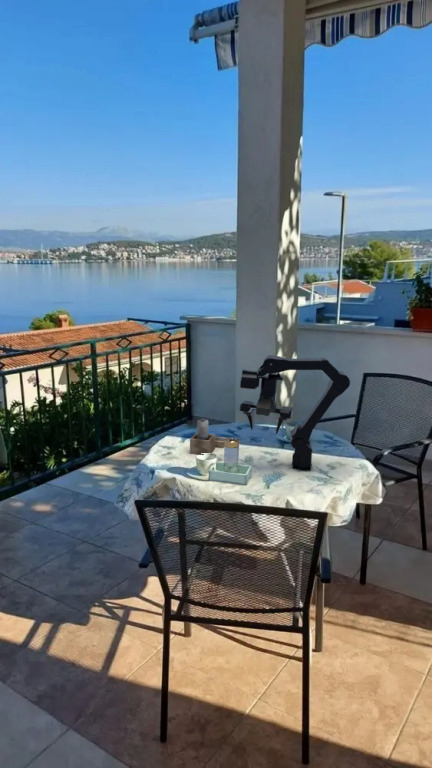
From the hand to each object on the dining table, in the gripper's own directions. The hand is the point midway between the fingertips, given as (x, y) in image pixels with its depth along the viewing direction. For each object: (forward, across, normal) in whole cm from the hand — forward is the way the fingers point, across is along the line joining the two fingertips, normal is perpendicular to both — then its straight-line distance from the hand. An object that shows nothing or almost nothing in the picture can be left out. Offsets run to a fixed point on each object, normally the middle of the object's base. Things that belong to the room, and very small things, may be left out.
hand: (264, 431), depth 182 cm
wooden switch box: (+14, -22, +15) cm, 30 cm away
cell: (+13, -7, -16) cm, 22 cm away
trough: (+14, -8, -16) cm, 22 cm away
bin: (+14, -25, +6) cm, 30 cm away
